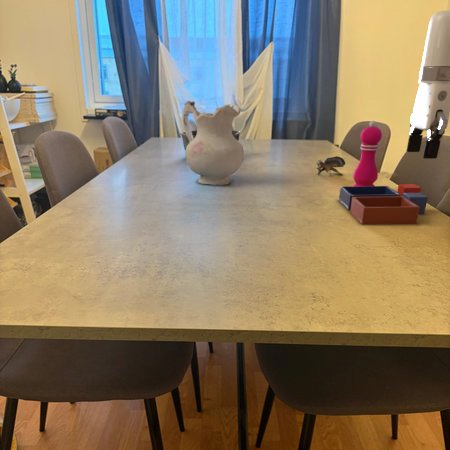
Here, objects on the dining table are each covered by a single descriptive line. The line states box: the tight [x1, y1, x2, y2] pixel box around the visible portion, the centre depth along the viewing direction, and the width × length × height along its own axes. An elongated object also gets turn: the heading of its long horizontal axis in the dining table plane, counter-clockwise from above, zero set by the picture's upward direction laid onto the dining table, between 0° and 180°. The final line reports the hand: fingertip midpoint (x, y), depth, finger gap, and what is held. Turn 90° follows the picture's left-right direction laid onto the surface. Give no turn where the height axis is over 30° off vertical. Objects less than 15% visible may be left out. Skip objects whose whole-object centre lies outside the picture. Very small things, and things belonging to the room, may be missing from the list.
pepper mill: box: [352, 120, 383, 186], centre depth 129 cm, size 7×7×20 cm
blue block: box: [403, 192, 429, 216], centre depth 111 cm, size 4×4×4 cm
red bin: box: [349, 196, 420, 225], centre depth 107 cm, size 13×10×4 cm
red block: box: [396, 183, 422, 196], centre depth 120 cm, size 4×4×4 cm
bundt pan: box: [180, 129, 241, 152], centre depth 191 cm, size 26×26×10 cm
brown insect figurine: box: [315, 155, 347, 177], centre depth 153 cm, size 8×7×9 cm
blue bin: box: [338, 185, 401, 212], centre depth 117 cm, size 13×10×4 cm
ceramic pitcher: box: [181, 100, 245, 186], centre depth 141 cm, size 22×20×25 cm
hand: (420, 154), depth 106 cm, fingers open, 9 cm apart
